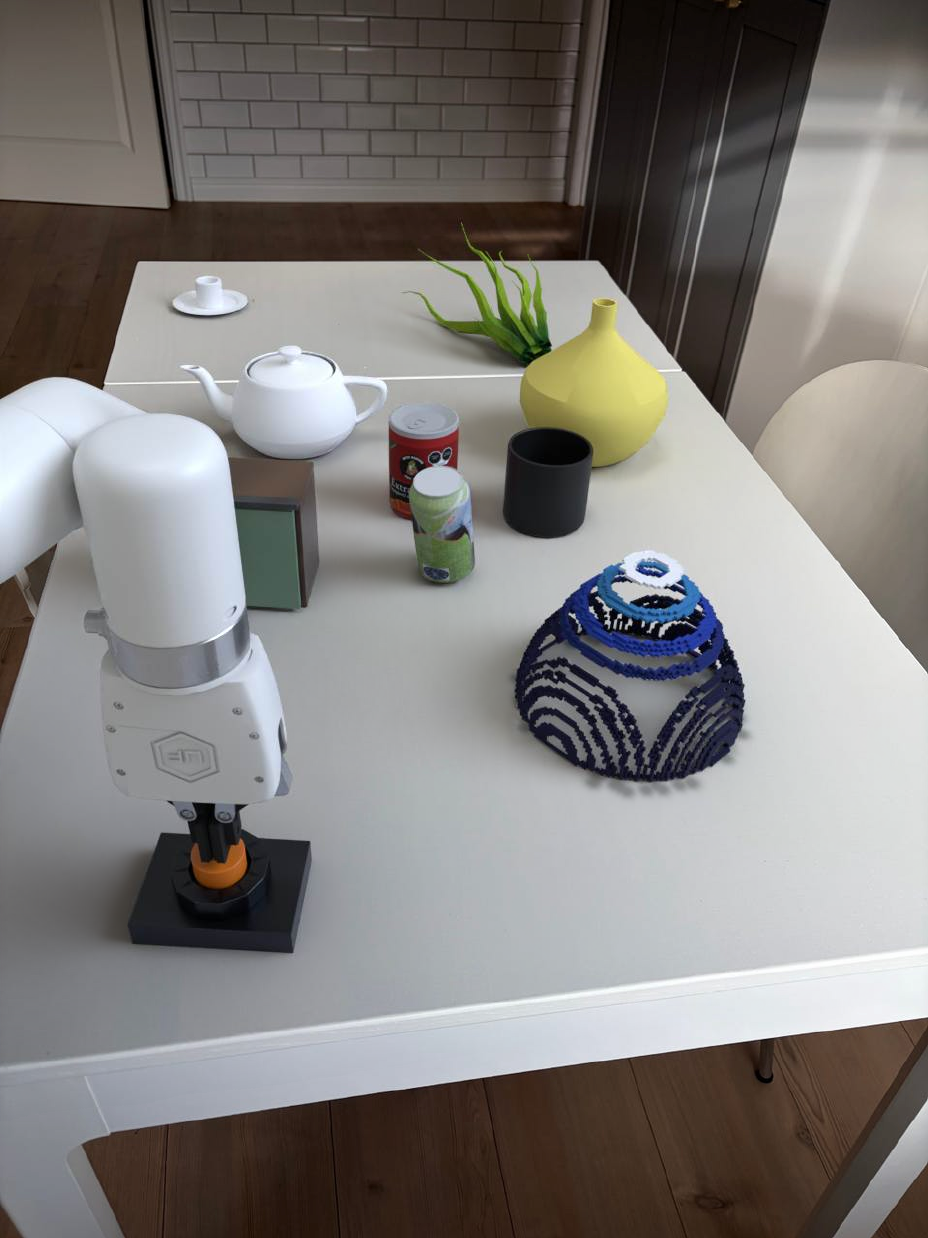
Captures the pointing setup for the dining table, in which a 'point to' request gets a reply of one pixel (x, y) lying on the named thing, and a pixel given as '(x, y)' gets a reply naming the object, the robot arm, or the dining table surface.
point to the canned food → (419, 447)
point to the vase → (596, 390)
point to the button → (220, 868)
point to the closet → (283, 504)
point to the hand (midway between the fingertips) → (218, 846)
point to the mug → (547, 481)
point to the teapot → (291, 403)
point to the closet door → (268, 557)
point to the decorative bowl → (637, 669)
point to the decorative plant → (505, 315)
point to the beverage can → (442, 524)
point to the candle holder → (209, 298)
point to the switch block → (223, 898)
